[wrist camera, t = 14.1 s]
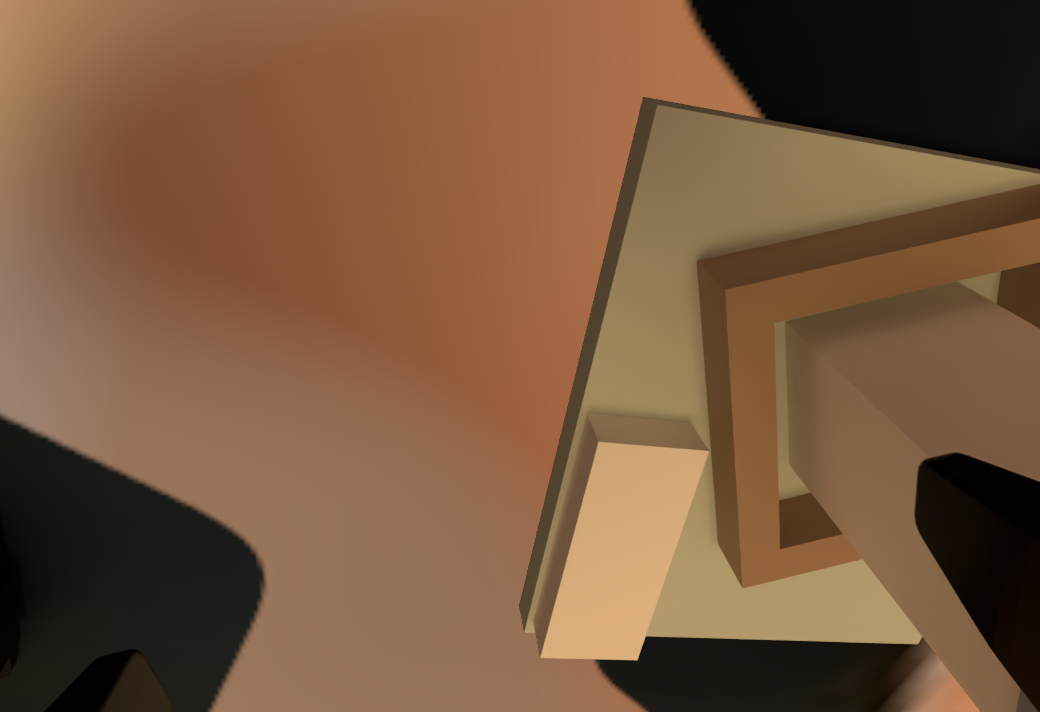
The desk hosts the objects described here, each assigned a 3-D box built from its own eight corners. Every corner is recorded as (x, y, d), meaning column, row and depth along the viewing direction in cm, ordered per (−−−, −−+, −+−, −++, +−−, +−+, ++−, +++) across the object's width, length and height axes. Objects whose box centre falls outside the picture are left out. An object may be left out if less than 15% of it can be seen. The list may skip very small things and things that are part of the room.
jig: (519, 605, 27) (533, 682, 24) (643, 97, 19) (685, 120, 17) (899, 619, 30) (952, 689, 27) (1128, 185, 22) (1234, 218, 20)
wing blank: (532, 621, 25) (540, 657, 24) (586, 412, 22) (598, 441, 21) (625, 624, 26) (637, 660, 25) (690, 422, 23) (709, 451, 21)
